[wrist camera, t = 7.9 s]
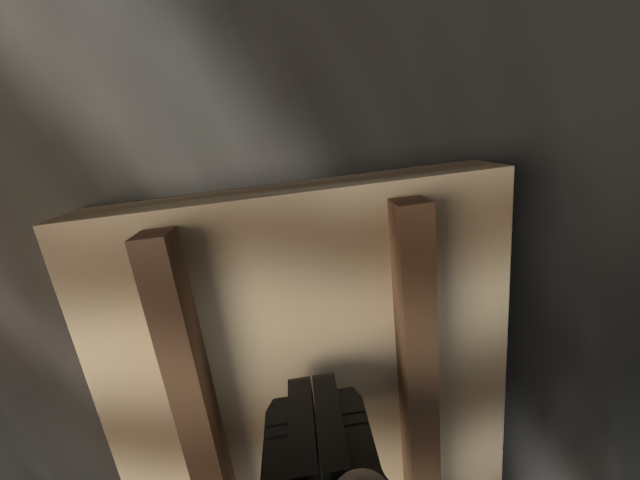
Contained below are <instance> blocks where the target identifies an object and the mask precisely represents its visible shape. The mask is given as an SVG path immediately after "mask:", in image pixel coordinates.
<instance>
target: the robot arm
mask: <svg viewBox="0 0 640 480" xmlns="http://www.w3.org/2000/svg"><path fill="white" fill-rule="evenodd" d="M312 382H313V392H312V385H311V378H310V376H306V377H300V378H293V379H288V396H287V397H281V398H274V399H273V400H272V401H271V403H270V405H269V407H268V408H267V410H266V412H265V424H264V427H265V429H264V437H263V438H264V441H263V450H262V463H261V475H260V480H388V478H387V477H386V476H385V474H384V472H383V470H382V467H381V464H380V460H379V457H378V453H377V449H376V446H375V442H374V439H373V435H372V431H371V428H370V424H369V420H368V417H367V413H366V409H365V406H364V402H363V398H362V396H361V395H360V394H359V393H358V392H357V391H356V390H355V389H354V388H353V386H352V387H345V388H339V389H337V387H336V381H335V376H334V372H332V373H325V374H319V375H312ZM313 393H314V399H313ZM314 403H315V406H314Z"/></svg>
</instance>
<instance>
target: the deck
mask: <svg viewBox="0 0 640 480" xmlns="http://www.w3.org/2000/svg"><path fill="white" fill-rule="evenodd" d="M513 190H514V166H512V165H506V164H500V163H493V162H487V161H481V160H466V161H458V162H450V163H442V164H434V165H426V166H417V167H409V168H401V169H393V170H385V171H377V172H369V173H361V174H353V175H345V176H336V177H328V178H320V179H312V180H304V181H296V182H288V183H280V184H272V185H263V186H255V187H247V188H239V189H231V190H223V191H215V192H207V193H199V194H191V195H182V196H174V197H166V198H158V199H150V200H142V201H134V202H126V203H118V204H109V205H101V206H93V207H85V208H79V209H76V210H74V211H71V212H68V213H66V214H63V215H60V216H58V217H55V218H52V219H50V220H47V221H45V222H42V223H39V224H37V225H34V226H33V229H34V232H35V235H36V238H37V240H38V243H39V246H40V249H41V252H42V255H43V258H44V260H45V263H46V266H47V269H48V272H49V275H50V278H51V280H52V283H53V286H54V289H55V292H56V295H57V298H58V301H59V303H60V306H61V309H62V312H63V315H64V318H65V321H66V323H67V326H68V329H69V332H70V335H71V338H72V341H73V343H74V346H75V349H76V352H77V355H78V358H79V361H80V364H81V366H82V369H83V372H84V375H85V378H86V381H87V384H88V386H89V389H90V392H91V395H92V398H93V401H94V404H95V406H96V409H97V412H98V415H99V418H100V421H101V424H102V427H103V429H104V432H105V435H106V438H107V441H108V444H109V447H110V449H111V452H112V455H113V458H114V461H115V464H116V467H117V469H118V472H119V475H120V478H121V480H260V475H261V463H262V450H263V441H264V438H263V437H264V429H265V427H264V424H265V412H266V410H267V408H268V407H269V405H270V403H271V401H272V400H273V399H274V398H281V397H287V396H288V379H293V378H300V377H306V376H310V378H311V385H312V392H313V382H312V375H319V374H325V373H332V372H334V376H335V381H336V387H337V389H339V388H345V387H352V386H353V388H354V389H355V390H356V391H357V392H358V393H359V394H360V395H361V396H362V398H363V402H364V406H365V409H366V413H367V417H368V420H369V424H370V428H371V431H372V435H373V439H374V442H375V446H376V449H377V453H378V457H379V460H380V464H381V467H382V470H383V472H384V474H385V476H386V477H387V478H388V480H502V459H503V435H504V410H505V386H506V361H507V337H508V312H509V288H510V263H511V239H512V214H513ZM313 399H314V393H313ZM314 406H315V403H314Z"/></svg>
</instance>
